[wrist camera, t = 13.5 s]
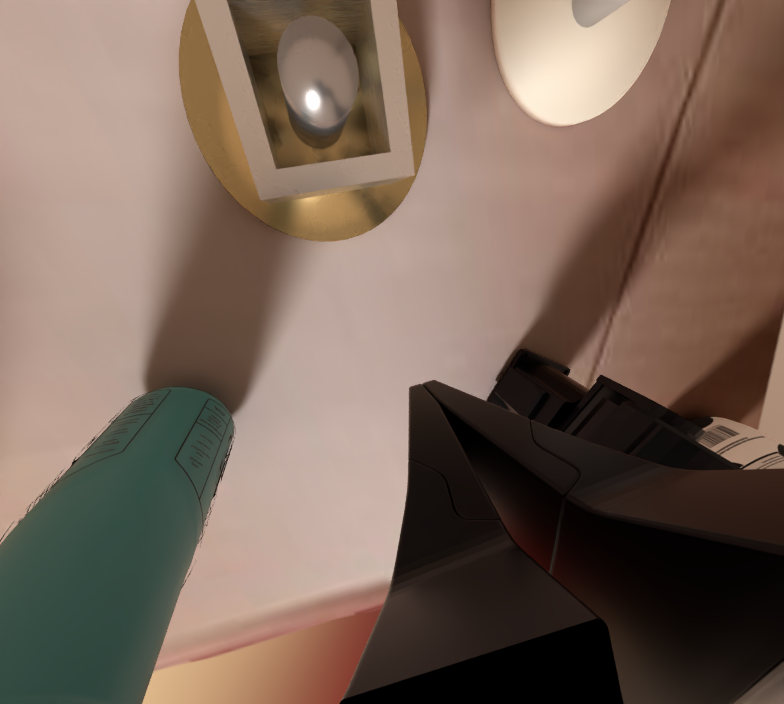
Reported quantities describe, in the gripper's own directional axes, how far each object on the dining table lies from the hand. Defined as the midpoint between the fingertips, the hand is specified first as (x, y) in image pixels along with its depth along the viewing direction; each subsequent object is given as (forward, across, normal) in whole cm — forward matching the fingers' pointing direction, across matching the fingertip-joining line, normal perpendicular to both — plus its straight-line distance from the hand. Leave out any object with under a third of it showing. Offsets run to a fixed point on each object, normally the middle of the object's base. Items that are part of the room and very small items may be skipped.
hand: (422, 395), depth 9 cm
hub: (+12, 0, -10) cm, 16 cm away
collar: (+12, 0, -10) cm, 15 cm away
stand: (+12, -16, -14) cm, 24 cm away
